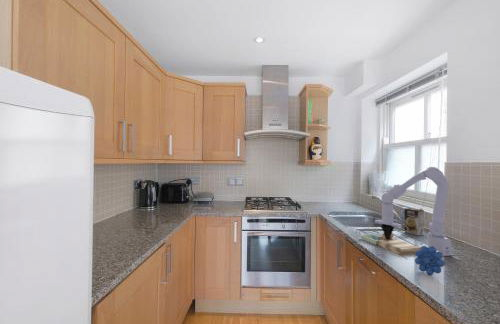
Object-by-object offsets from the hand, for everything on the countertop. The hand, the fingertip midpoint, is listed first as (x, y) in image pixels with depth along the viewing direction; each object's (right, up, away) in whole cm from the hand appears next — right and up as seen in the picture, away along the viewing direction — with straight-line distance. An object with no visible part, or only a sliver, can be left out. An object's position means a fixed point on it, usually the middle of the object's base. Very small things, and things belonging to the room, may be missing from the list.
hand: (387, 238), depth 140 cm
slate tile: (0, -1, +9) cm, 9 cm away
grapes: (-4, -3, -38) cm, 39 cm away
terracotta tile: (+2, -1, +3) cm, 4 cm away
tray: (-2, -4, +8) cm, 9 cm away
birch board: (+2, -4, -7) cm, 8 cm away
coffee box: (+32, -5, +26) cm, 41 cm away
